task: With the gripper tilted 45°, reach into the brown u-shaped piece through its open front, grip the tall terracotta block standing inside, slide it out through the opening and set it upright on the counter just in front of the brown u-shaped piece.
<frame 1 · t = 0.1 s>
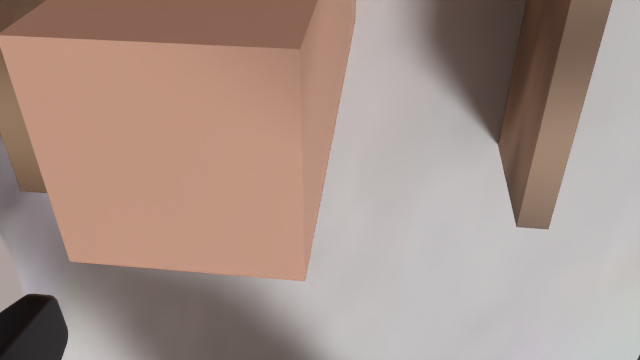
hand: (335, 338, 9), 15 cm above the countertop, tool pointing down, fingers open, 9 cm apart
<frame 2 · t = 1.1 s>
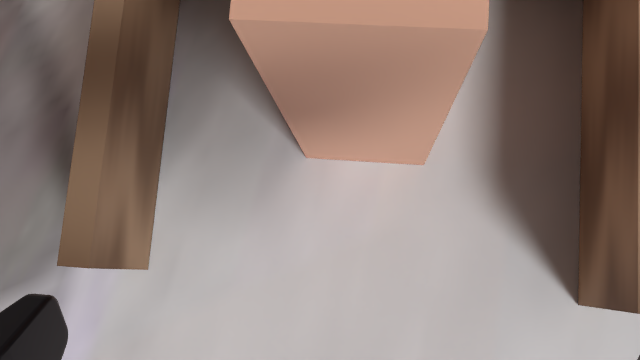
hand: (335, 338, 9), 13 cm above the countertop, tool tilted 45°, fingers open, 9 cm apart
brown u-shaped piece: (367, 116, 24), on the countertop
block: (368, 104, 24), on the countertop
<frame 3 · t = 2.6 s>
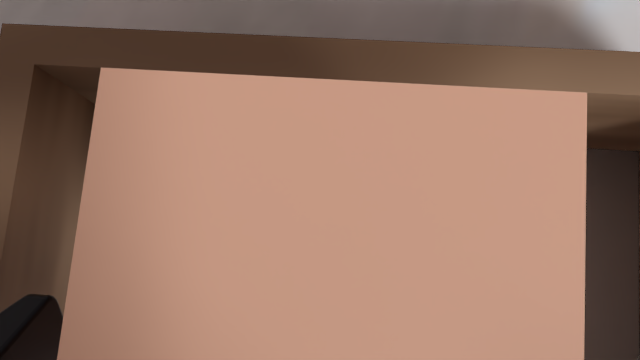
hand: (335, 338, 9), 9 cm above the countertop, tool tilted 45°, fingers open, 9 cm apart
brown u-shaped piece: (354, 316, 18), on the countertop
block: (356, 299, 18), on the countertop
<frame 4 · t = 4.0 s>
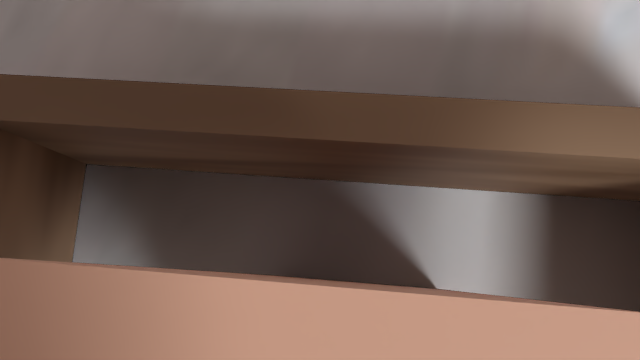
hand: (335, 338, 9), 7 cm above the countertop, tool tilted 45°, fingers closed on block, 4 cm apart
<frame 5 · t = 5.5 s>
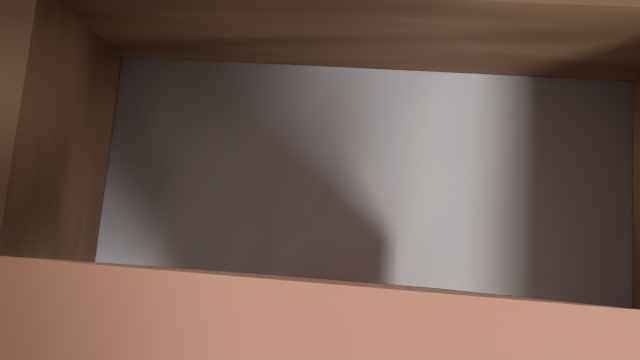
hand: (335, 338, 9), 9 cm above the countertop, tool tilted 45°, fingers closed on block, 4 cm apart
brown u-shaped piece: (355, 244, 18), on the countertop
when the fingers open (8 cm above the countertop, at t = 7.5 s): block stays where it is, on the countertop.
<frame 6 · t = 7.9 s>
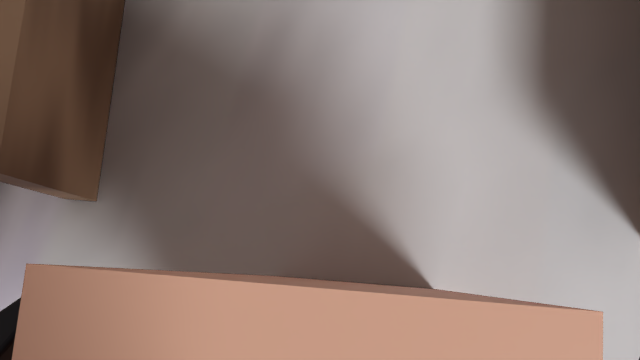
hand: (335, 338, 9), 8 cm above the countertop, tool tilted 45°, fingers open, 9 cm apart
brown u-shaped piece: (374, 10, 19), on the countertop
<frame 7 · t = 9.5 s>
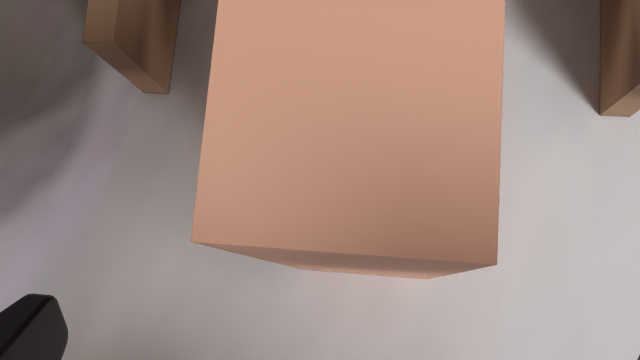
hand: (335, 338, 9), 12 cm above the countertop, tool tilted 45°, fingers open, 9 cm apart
block: (368, 211, 22), on the countertop
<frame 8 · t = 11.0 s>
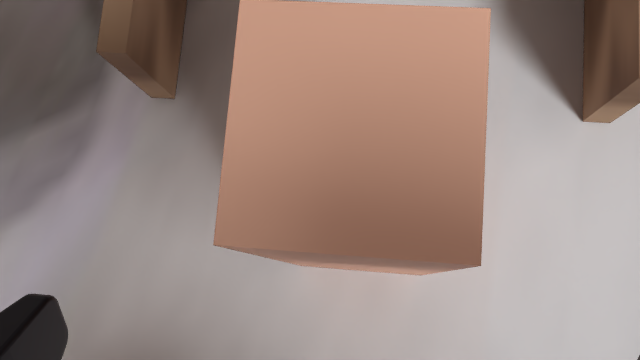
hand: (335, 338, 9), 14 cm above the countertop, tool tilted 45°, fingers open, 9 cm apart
block: (364, 211, 23), on the countertop
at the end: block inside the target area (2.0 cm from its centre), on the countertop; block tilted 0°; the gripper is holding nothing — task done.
